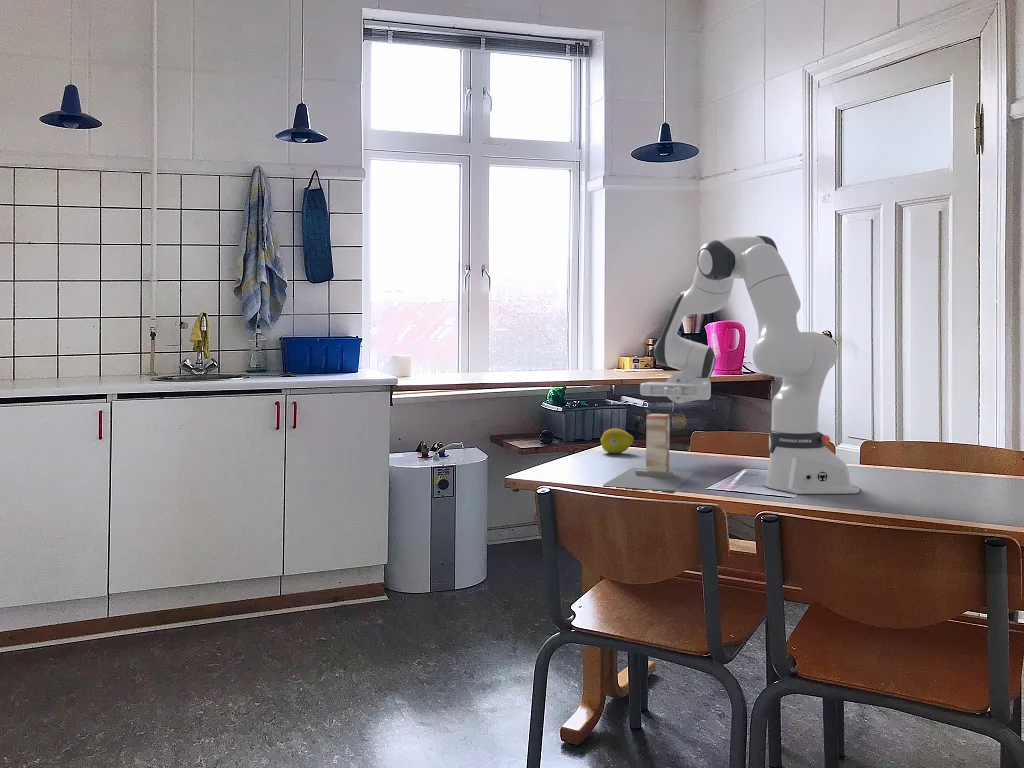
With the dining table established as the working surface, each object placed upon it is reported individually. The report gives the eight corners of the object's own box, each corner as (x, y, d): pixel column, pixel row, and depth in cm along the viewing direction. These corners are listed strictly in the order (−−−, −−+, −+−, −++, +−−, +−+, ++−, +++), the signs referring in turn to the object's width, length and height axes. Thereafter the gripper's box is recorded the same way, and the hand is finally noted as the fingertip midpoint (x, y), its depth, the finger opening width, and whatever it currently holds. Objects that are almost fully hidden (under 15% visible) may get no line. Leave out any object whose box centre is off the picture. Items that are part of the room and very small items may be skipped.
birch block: (651, 471, 228) (651, 413, 226) (669, 472, 226) (669, 414, 224) (646, 474, 223) (646, 415, 222) (664, 476, 221) (664, 416, 220)
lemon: (595, 453, 263) (595, 428, 263) (606, 450, 270) (606, 426, 269) (626, 456, 257) (626, 431, 256) (637, 453, 264) (637, 428, 263)
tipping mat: (632, 470, 234) (632, 463, 234) (696, 474, 227) (696, 467, 226) (603, 487, 211) (603, 480, 210) (673, 493, 203) (673, 485, 203)
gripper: (646, 376, 251) (633, 379, 238) (715, 378, 242) (705, 381, 230) (646, 397, 251) (633, 401, 239) (714, 399, 243) (705, 404, 230)
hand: (669, 391), depth 234 cm, fingers closed
